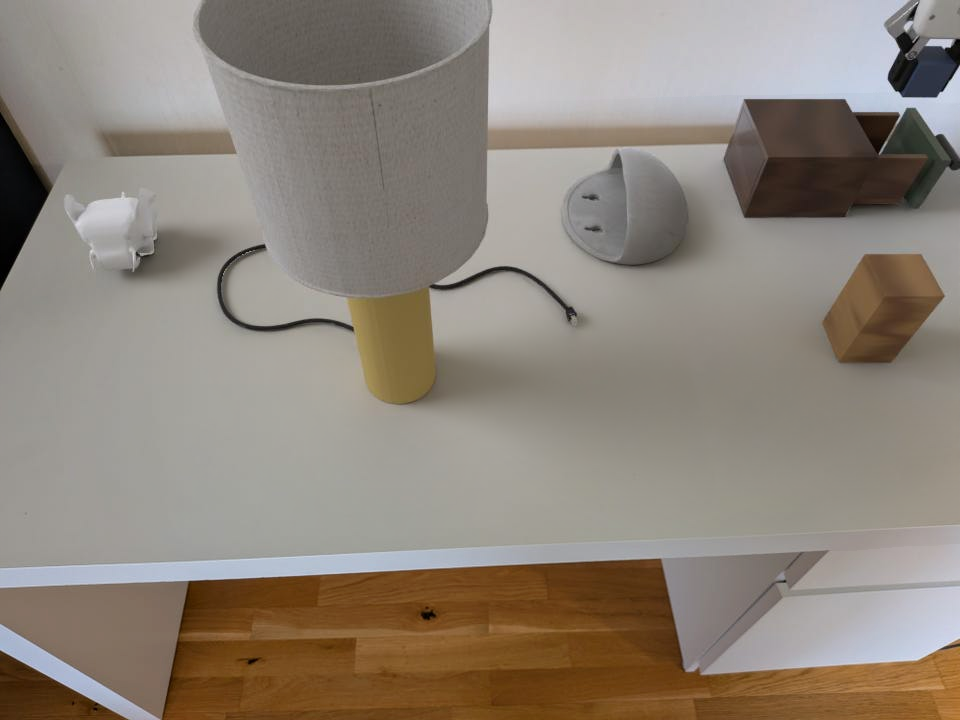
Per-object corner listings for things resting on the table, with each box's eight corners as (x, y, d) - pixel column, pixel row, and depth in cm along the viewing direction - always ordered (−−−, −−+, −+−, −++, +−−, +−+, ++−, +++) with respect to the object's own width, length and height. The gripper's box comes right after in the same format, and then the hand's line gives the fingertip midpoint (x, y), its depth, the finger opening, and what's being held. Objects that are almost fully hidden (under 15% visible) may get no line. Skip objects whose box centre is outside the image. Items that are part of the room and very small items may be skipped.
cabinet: (816, 159, 98) (845, 98, 91) (845, 217, 91) (879, 157, 83) (723, 159, 98) (743, 98, 91) (743, 217, 91) (768, 157, 83)
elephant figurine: (82, 292, 82) (45, 237, 75) (101, 225, 89) (69, 169, 82) (164, 284, 83) (135, 229, 76) (176, 218, 90) (150, 163, 83)
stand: (872, 321, 80) (921, 253, 71) (891, 362, 76) (945, 296, 67) (821, 321, 80) (864, 253, 71) (838, 362, 76) (885, 296, 67)
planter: (712, 226, 79) (571, 222, 79) (695, 270, 85) (564, 266, 85) (687, 129, 90) (564, 126, 91) (674, 174, 96) (559, 171, 96)
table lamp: (230, 491, 66) (1, 139, 34) (215, 255, 86) (61, -109, 54) (613, 400, 73) (720, 34, 41) (519, 200, 92) (542, -153, 60)
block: (922, 78, 84) (941, 45, 81) (936, 97, 82) (956, 64, 78) (889, 78, 84) (906, 45, 81) (902, 97, 81) (920, 64, 78)
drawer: (917, 156, 97) (947, 107, 91) (950, 209, 91) (985, 160, 84) (800, 156, 97) (823, 107, 91) (825, 209, 90) (851, 160, 84)
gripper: (941, -68, 66) (855, 103, 80) (1113, -67, 66) (996, 104, 80) (911, -99, 70) (835, 68, 85) (1072, -97, 70) (968, 69, 85)
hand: (914, 84), depth 82 cm, fingers closed on block, 4 cm apart
